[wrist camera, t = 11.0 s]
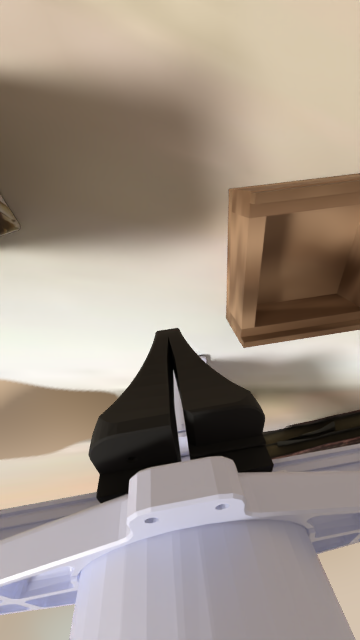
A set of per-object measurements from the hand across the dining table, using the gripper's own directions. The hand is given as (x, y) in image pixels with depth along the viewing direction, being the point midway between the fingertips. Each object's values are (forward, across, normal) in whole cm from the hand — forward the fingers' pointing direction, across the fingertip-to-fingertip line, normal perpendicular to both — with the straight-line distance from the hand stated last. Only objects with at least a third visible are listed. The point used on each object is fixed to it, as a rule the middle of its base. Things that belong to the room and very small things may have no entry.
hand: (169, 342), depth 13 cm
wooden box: (+9, -13, -1) cm, 16 cm away
